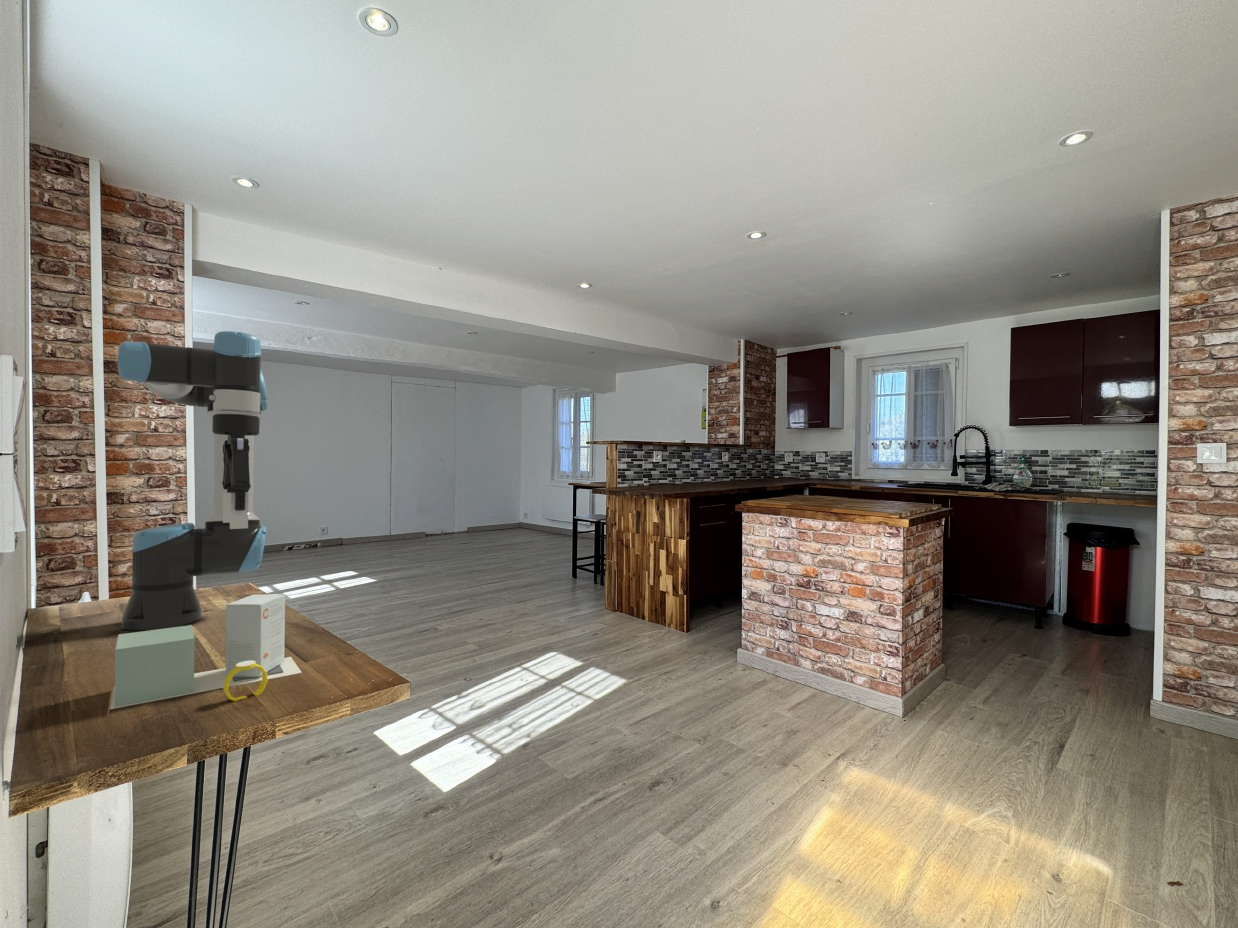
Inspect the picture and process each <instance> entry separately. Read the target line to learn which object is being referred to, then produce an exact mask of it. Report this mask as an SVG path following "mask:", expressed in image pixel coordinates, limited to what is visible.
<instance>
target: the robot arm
mask: <svg viewBox="0 0 1238 928" xmlns="http://www.w3.org/2000/svg"><path fill="white" fill-rule="evenodd" d="M212 347H213V348H212V349H210V348H198V347H190V346H188V347H185V346H178V345H168V344H162V343H160V344H159V343H151V342H146V341H130V340H129V341H128V340H127V341H126V340H125V341H122V342H120V344H119V345H118V348H117V349H118V350H117V351H118V352H117V369H118V375H119V377H120V379H122V380H123V381H128V382H137V383H140V384H141V383H144V385H145V386H146V388H147V389H148V390H149V392H151V393H152V394H153V395H154V396H157V397H159V398H161V399H163V400H166V401H169V402H172V403H175V404H179V405H183V406H188V407H190V406H191V407H199V408H201V407H202V408H207V410H206V412H207V415H208V416H209V418H211V420H212V433H213V434H214V436H213V478H212V479H213V482H212V483H213V485H212V488H213V490H212V496H213V497H212V514H211V515H210V516H209V517H208V518H207V519H206V520H205V522H204V527H203V528H196V526H195V524H194V523H193V522H184V523H174V524H167V525H160V526H154V527H151V528H149V527H148V528H145V529H142V530H139V531H138V532H136V533H135V534H134V535H133V538H132V540H133V541H132V549H131V551H130V552H131V553H132V569H131V571H132V572H131V573H132V574H131V575H132V576H131V594H130V597H129V599H128V601H127V603H126V606H125V608H124V611H123V614H122V616H121V621H120V622H121V624H120V627H121V629H123V630H128V631H150V630H157V629H165V628H173V627H180V626H186V625H190V624H192V623H195V622H197V621H199V620H201V619H202V612H203V611H202V607H201V604H200V601H199V599H198V597H197V593H196V591H195V588H194V577H201V576H214V575H228V574H240V573H247V572H248V573H249V572H254V571H256V570H257V569H259V567H260V566H261V563H262V559H263V555H264V549H265V544H266V535H267V534H266V533H267V527H266V525H263V524H262V525H261V523H260V522H261V518H259V517H258V516H257V515H256V514H255V513H254V464H255V463H254V455H255V453H254V451H255V449H254V448H255V447H254V446H255V444H254V443H255V440H254V439H255V436H258V435H259V434H260V422H261V421H260V419H261V416H262V413H261V412H264V411H267V409H268V398H267V386H266V382H265V377H264V374H263V370H262V369H261V361H262V360H261V359H262V358H261V356H262V353H263V352H262V350H261V349H262V348H261V339H260V338H259V337H257V335H254V334H251V333H246V332H241V331H232V330H227V331H226V330H225V331H223V330H222V331H218V332H216V333H215V335H214V339H213V346H212Z"/></svg>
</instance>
